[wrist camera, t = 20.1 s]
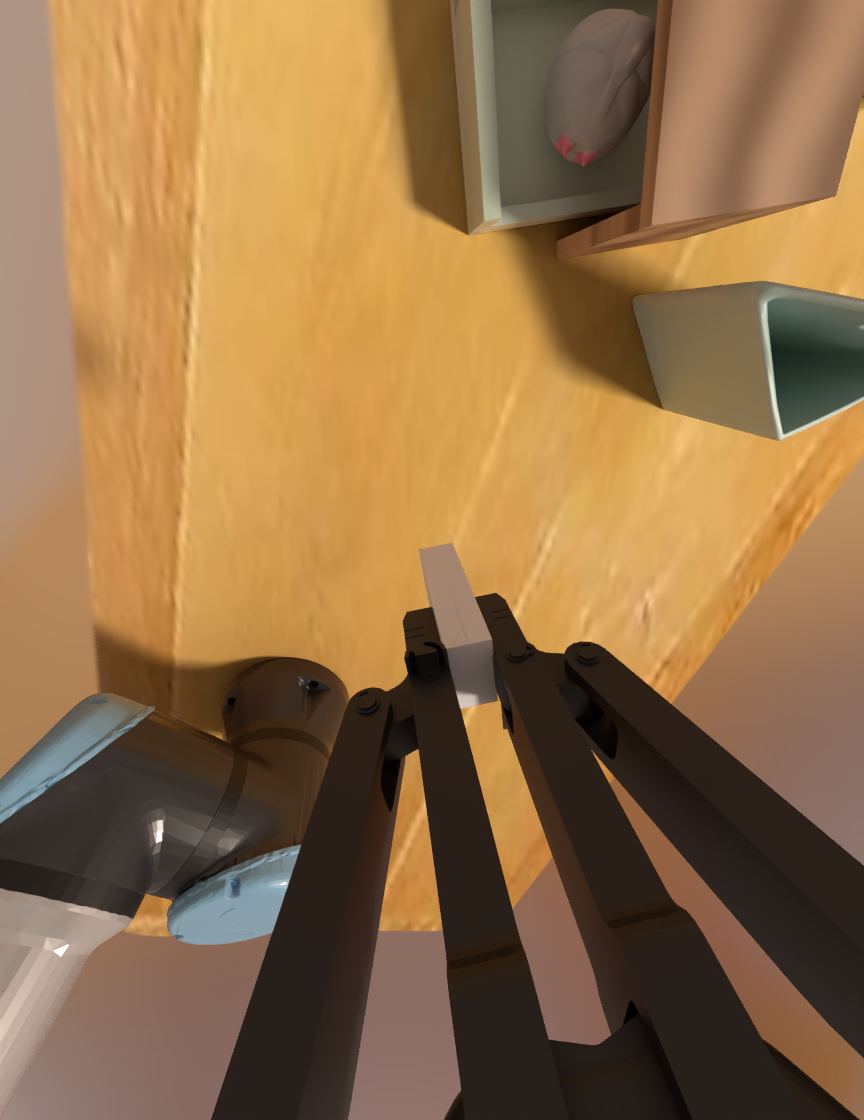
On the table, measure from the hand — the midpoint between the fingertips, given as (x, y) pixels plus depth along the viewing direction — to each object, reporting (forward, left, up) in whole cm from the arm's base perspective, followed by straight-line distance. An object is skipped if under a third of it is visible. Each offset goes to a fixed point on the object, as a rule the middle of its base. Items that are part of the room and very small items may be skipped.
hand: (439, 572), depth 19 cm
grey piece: (+29, +2, -25) cm, 38 cm away
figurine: (+16, +21, -24) cm, 35 cm away
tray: (+16, +21, -24) cm, 36 cm away
